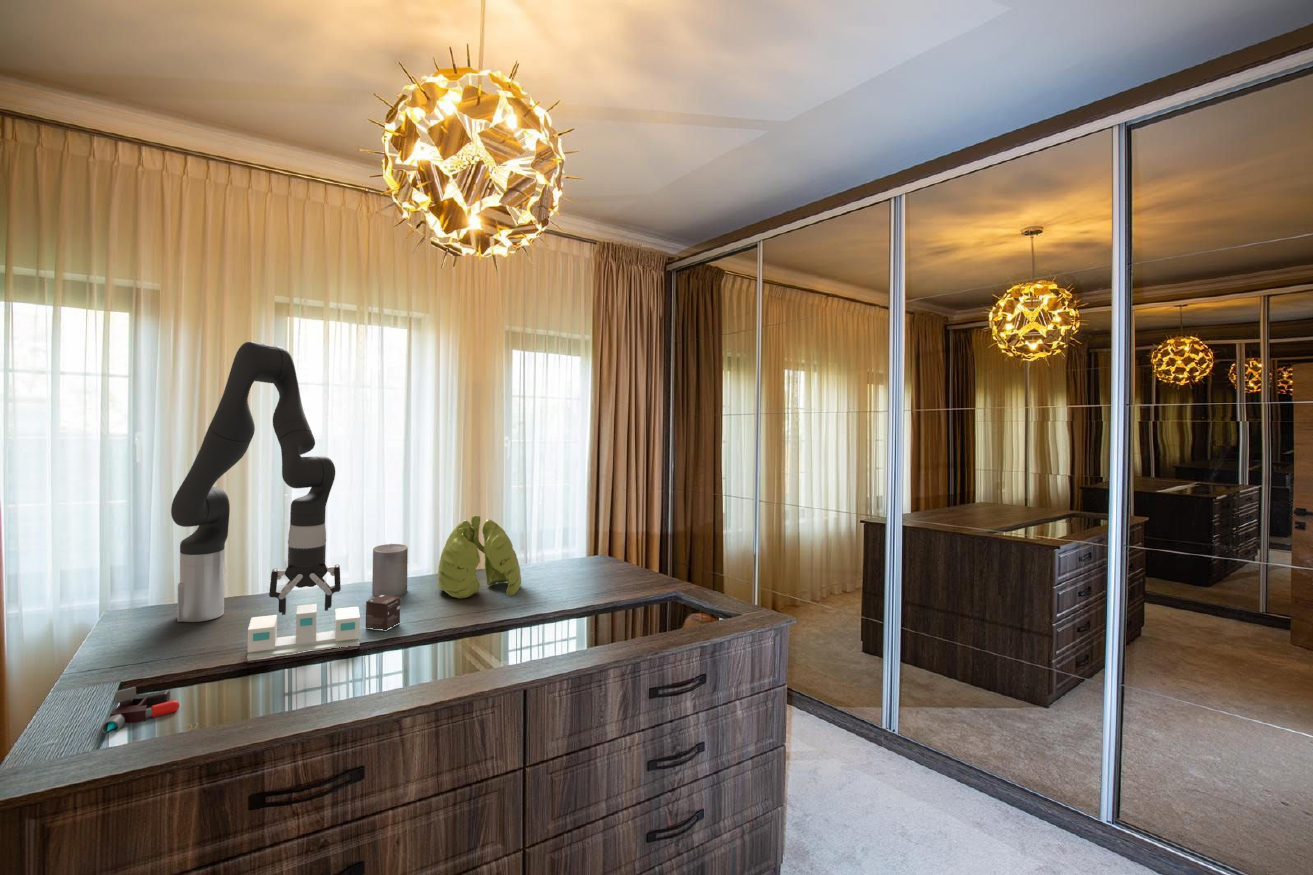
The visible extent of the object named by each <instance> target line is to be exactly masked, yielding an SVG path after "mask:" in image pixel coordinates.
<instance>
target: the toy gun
mask: <svg viewBox="0 0 1313 875" xmlns="http://www.w3.org/2000/svg"><path fill="white" fill-rule="evenodd" d="M114 692H115V693H114V697H115V698H114V700H115V704H116V705H117V704H119V705H118V706H117V707H116V708H115V709H114V710H112V712H110V716H109V717H108V719H107V720H106V721H105V722H104V723H103V724H102V726H101V732H102V733H103V734H107V733H108V732H109V731H112V730H114V729H116V728H117V729H116V730H115V731H114V733H118V732H119V730H120V729H122V727H123V726H124V725H125V724H132V723H141V722H146V720H147V718H149V717H152V718H156V717H160V716H163V715H164V716H165V715H169V714H172V713H174V712H177V711H178V710H179V708H180V703H179V702H180V701H178V700H174V699H173V700H170V699H171V690H168V689H167V690H163V691H162V690H161V691H157V692H156V691H155V692H151V693H150V692H149V693H141V694H139V693H137V687H136V686H133V687H129V688H124V689H119V690H116V691H114Z"/></svg>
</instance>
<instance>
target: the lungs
mask: <svg viewBox="0 0 1313 875" xmlns="http://www.w3.org/2000/svg"><path fill="white" fill-rule="evenodd" d="M470 521H471V522H469V521H468V520H467V519H465V520H462V521H460V522H459V523H458V524H457V525H456V526H455V527H454V529H453V530H452V531H451V533H450V534H449V536H448V538H447V540H446V541H445V545H444V547H443V548H442V551H441V555H440V559H439V564H438V568H437V588H438V589H439V590H441V591H444V592H445V593H446V594H448V596H450V597H453V598H457V599H466V598H468V597H470V596H473V595H474V594H476V593H477V592H478V591H479V590H480V582H479V580H478V578H477V575H476V570H477V567H478V566H479V564H480V562H481V557H480V552H479V551H481V552H482V553H483V554H484V572H485V578H486V585H487V586H489V587H490V586H493V585H495V584H497V583H498V584H503V583H507V587H506V590H505V594H506V595H508V596H511V597H512V596H514V595H515V594H517V593H518V591H519V589H520V587H521V586H522V575H521V568H520V564H519V559H518V557H517V553H516V551H515V549H514V547H513V546H514V545H513V543H512V541H511V539H510V537H509V536H508V534H507V533H506V531H505V530H504V529H503V528H502V527H501V526H500V525H499V524H498V523H497V522H496V521H494V520H493V519H490V518H489V519H486V520H485V521H484V524H483V526H482V530H481V531H482V534H483V540H484V542H483V544H482V543H481V542H480V540H479V538H480V537H479V535H480V534H479V532H480V524H481V516H480V515H473V516H472V517H471V519H470Z"/></svg>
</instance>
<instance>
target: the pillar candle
mask: <svg viewBox="0 0 1313 875" xmlns="http://www.w3.org/2000/svg"><path fill="white" fill-rule="evenodd" d="M408 548H409V547H408V545H405V544H402V543H401V544H399V543H388V544H386V543H385V544H381V545H377V546H375V547H373V548H372V583H371V586H372V589H371V592H372V593H371V594H372V595H373V597H377V596H380V595H387V596H396V597H401V596H402V595H405V594H406V593H407V591H408V559H409V558H408V552H409V550H408Z"/></svg>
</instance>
